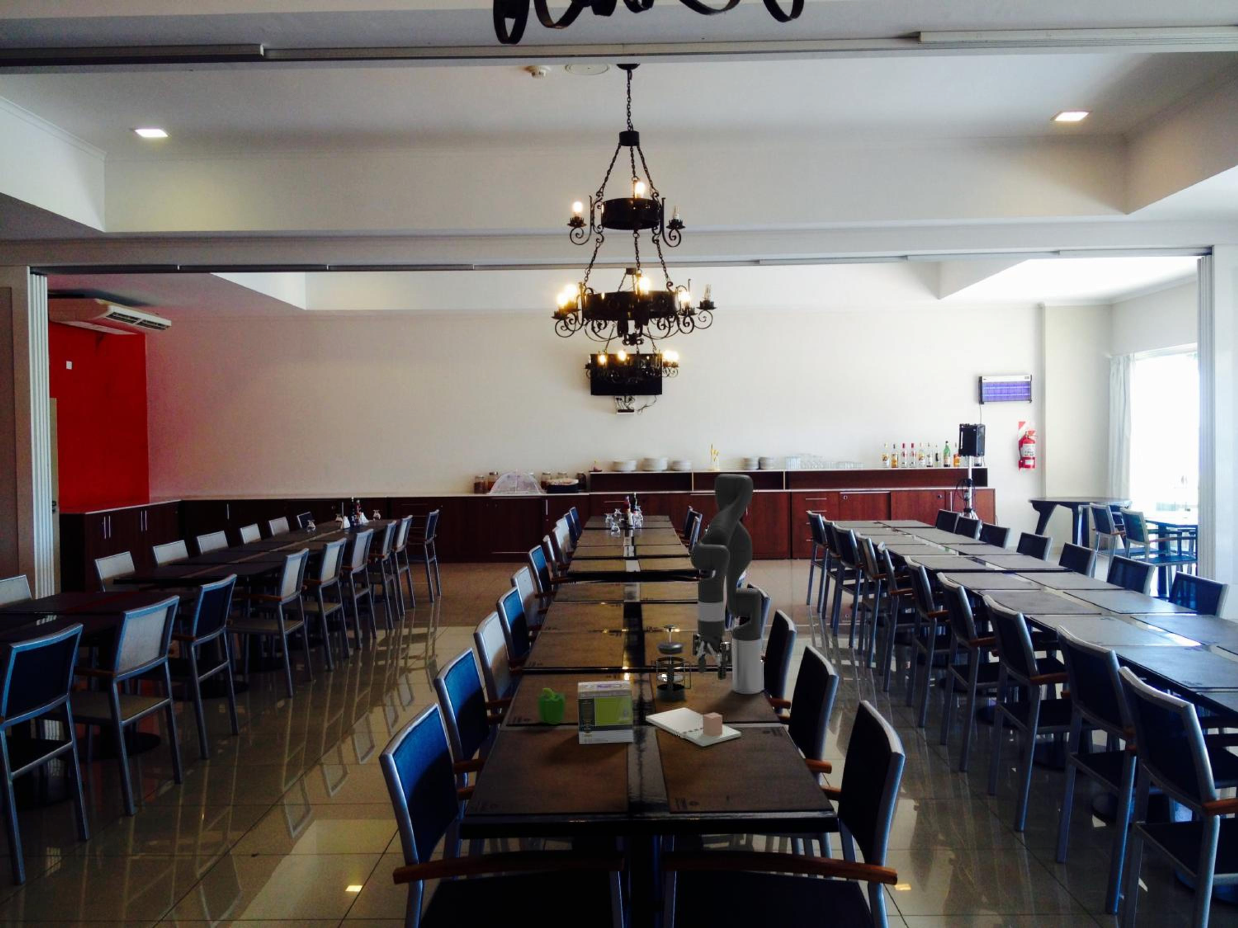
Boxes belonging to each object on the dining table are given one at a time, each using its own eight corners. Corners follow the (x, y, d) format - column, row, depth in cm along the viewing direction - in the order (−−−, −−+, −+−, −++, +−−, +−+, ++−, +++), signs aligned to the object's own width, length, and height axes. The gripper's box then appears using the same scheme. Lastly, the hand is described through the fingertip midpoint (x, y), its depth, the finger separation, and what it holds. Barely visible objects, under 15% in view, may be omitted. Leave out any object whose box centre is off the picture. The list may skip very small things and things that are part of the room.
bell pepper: (572, 719, 255) (571, 686, 255) (556, 728, 248) (555, 693, 248) (548, 715, 260) (548, 682, 259) (532, 723, 252) (531, 689, 252)
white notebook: (646, 720, 253) (646, 715, 253) (684, 711, 261) (684, 706, 261) (682, 738, 238) (682, 733, 238) (722, 727, 246) (722, 723, 246)
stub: (684, 737, 238) (684, 716, 238) (722, 727, 245) (722, 706, 245) (702, 746, 231) (702, 724, 231) (740, 735, 239) (740, 714, 238)
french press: (653, 701, 271) (651, 628, 270) (655, 692, 280) (654, 622, 279) (690, 702, 269) (689, 629, 268) (691, 693, 279) (690, 622, 278)
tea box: (631, 730, 245) (630, 678, 245) (633, 743, 235) (632, 689, 235) (578, 731, 245) (577, 680, 244) (578, 744, 235) (577, 691, 234)
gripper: (738, 619, 233) (739, 679, 234) (705, 611, 245) (706, 667, 246) (716, 623, 229) (717, 684, 230) (684, 614, 241) (685, 672, 242)
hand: (711, 675), depth 238 cm, fingers open, 8 cm apart
